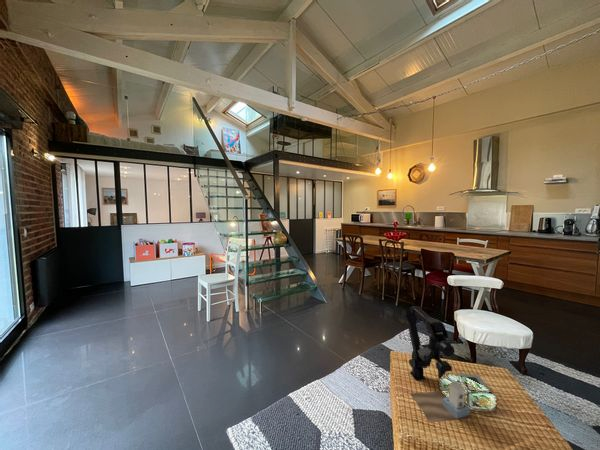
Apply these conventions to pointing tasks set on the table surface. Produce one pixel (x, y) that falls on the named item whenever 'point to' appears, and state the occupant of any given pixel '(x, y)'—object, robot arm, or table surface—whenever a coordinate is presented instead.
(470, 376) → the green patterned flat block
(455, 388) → the tower
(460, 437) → the table surface
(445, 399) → the socket cup
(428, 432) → the table surface
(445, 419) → the walnut board
